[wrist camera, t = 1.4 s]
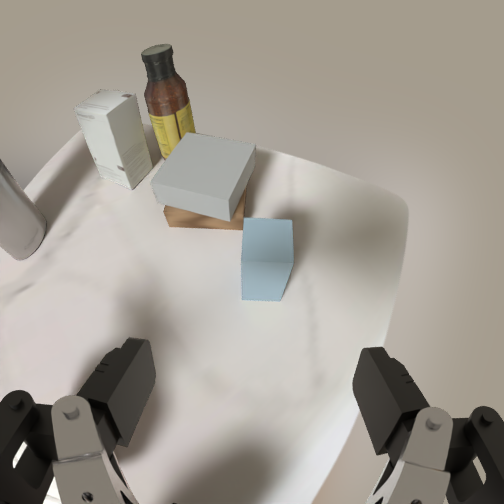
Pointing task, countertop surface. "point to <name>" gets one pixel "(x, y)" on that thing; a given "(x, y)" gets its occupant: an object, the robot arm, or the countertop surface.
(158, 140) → the sauce bottle
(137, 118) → the skincare box
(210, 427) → the countertop surface
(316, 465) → the countertop surface
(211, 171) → the block top
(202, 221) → the block bottom
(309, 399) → the countertop surface
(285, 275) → the blue block
